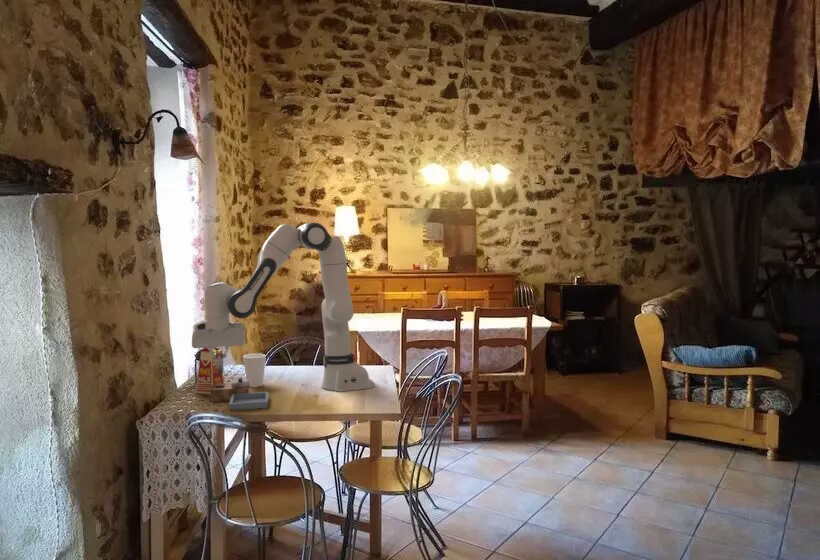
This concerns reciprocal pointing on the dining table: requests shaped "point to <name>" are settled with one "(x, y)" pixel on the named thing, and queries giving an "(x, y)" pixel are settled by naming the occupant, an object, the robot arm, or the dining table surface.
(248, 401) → the dish
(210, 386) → the milk carton
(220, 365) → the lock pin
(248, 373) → the foam cup
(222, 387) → the tensioner block
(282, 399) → the dining table surface
